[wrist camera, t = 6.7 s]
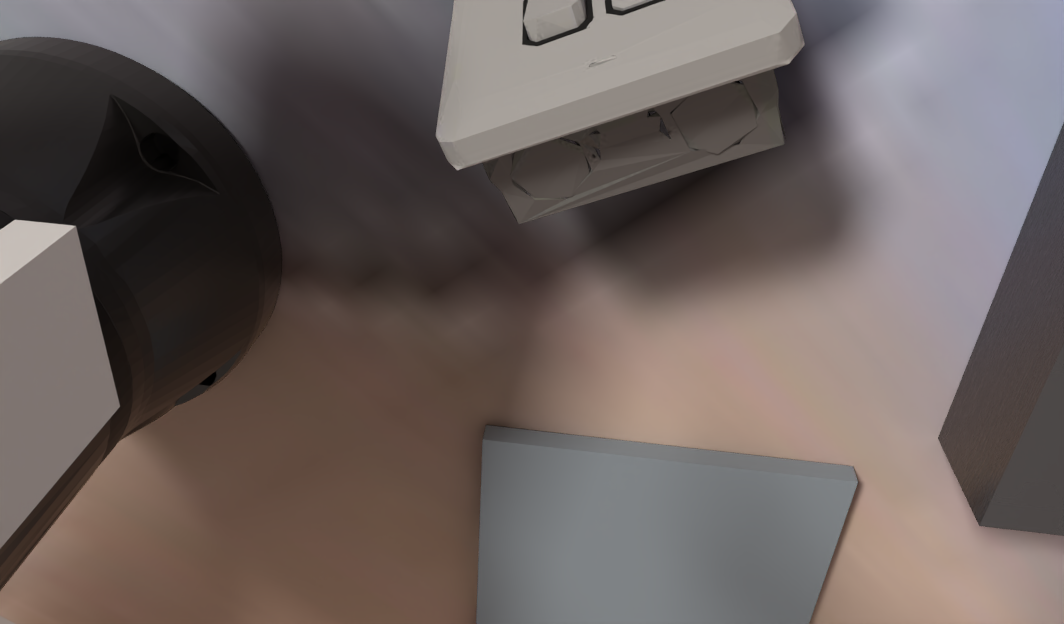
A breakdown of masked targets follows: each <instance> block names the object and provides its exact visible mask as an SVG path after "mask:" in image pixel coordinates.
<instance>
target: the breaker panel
mask: <svg viewBox="0 0 1064 624" xmlns="http://www.w3.org/2000/svg"><path fill="white" fill-rule="evenodd" d="M938 439H939V441H940V443H941V446H942V448H943V450H944V452H945V454H946V456H947V458H948V460H949V462H950V465H951V467H952V469H953V471H954V473H955V475H956V477H957V479H958V482H959V484H960V486H961V488H962V490H963V492H964V494H965V496H966V498H967V501H968V503H969V505H970V507H971V509H972V511H973V513H974V515H975V518H976V520H977V522H978V524H979V526H985V527H994V528H1002V529H1011V530H1020V531H1028V532H1037V533H1046V534H1054V535H1063V536H1064V124H1063V126H1062V129H1061V131H1060V134H1059V136H1058V139H1057V141H1056V144H1055V146H1054V149H1053V151H1052V154H1051V156H1050V159H1049V161H1048V164H1047V166H1046V169H1045V171H1044V174H1043V176H1042V179H1041V181H1040V184H1039V186H1038V189H1037V192H1036V194H1035V197H1034V199H1033V202H1032V204H1031V207H1030V209H1029V212H1028V214H1027V217H1026V219H1025V222H1024V224H1023V227H1022V229H1021V232H1020V234H1019V237H1018V239H1017V242H1016V244H1015V247H1014V249H1013V252H1012V254H1011V257H1010V259H1009V262H1008V264H1007V267H1006V269H1005V272H1004V274H1003V277H1002V279H1001V282H1000V284H999V287H998V289H997V292H996V294H995V297H994V299H993V302H992V304H991V307H990V309H989V312H988V314H987V317H986V320H985V322H984V325H983V327H982V330H981V332H980V335H979V337H978V340H977V342H976V345H975V347H974V350H973V352H972V355H971V357H970V360H969V362H968V365H967V367H966V370H965V372H964V375H963V377H962V380H961V382H960V385H959V387H958V390H957V392H956V395H955V397H954V400H953V402H952V405H951V407H950V410H949V412H948V415H947V417H946V420H945V422H944V425H943V427H942V430H941V432H940V435H939V437H938Z"/></svg>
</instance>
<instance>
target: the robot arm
mask: <svg viewBox="0 0 1064 624" xmlns="http://www.w3.org/2000/svg"><path fill="white" fill-rule="evenodd" d="M281 272H282V257H281V245H280V238H279V233H278V228H277V224H276V220H275V217H274V214H273V210H272V207H271V205H270V202H269V200H268V197H267V194H266V192H265V190H264V188H263V186H262V184H261V182H260V180H259V178H258V176H257V174H256V173H255V171H254V169H253V167H252V166H251V164H250V163H249V161H248V159H247V158H246V156H245V155H244V153H243V152H242V151H241V149H240V148H239V146H238V145H237V144H236V142H235V141H234V140H233V139H232V137H231V136H230V135H229V134H228V133H227V131H226V130H225V129H224V128H223V127H222V126H221V125H220V124H219V123H218V121H217V120H216V119H215V118H214V117H213V116H212V115H211V114H210V113H209V112H208V111H206V110H205V109H204V108H203V107H202V106H201V105H200V104H199V103H198V102H197V101H195V100H194V99H193V98H192V97H191V96H189V95H188V94H187V93H186V92H184V91H183V90H182V89H180V88H179V87H178V86H176V85H175V84H173V83H172V82H170V81H169V80H167V79H166V78H164V77H163V76H161V75H160V74H158V73H156V72H155V71H153V70H151V69H149V68H148V67H146V66H144V65H142V64H140V63H138V62H136V61H134V60H132V59H130V58H127V57H125V56H123V55H120V54H118V53H116V52H113V51H110V50H107V49H104V48H101V47H98V46H94V45H91V44H87V43H83V42H78V41H73V40H68V39H60V38H51V37H23V38H15V39H8V40H3V41H0V591H1V589H2V588H3V587H4V586H5V584H6V583H7V582H8V581H9V579H10V578H11V577H12V575H13V574H14V573H15V572H16V570H17V569H18V568H19V567H20V565H21V564H22V563H23V562H24V560H25V559H26V558H27V557H28V555H29V554H30V553H31V552H32V550H33V549H34V548H35V546H36V545H37V544H38V543H39V541H40V540H41V539H42V538H43V536H44V535H45V534H46V533H47V531H48V530H49V529H50V528H51V526H52V525H53V524H54V523H55V521H56V520H57V519H58V517H59V516H60V515H61V514H62V512H63V511H64V510H65V509H66V507H67V506H68V505H69V504H70V502H71V501H72V500H73V499H74V497H75V496H76V495H77V493H78V492H79V491H80V490H81V488H82V487H83V486H84V485H85V483H86V482H87V481H88V480H89V478H90V477H91V476H92V475H93V473H94V472H95V470H96V469H97V468H98V466H99V465H100V464H101V463H102V462H103V460H104V459H105V458H106V457H107V455H108V454H109V453H110V452H111V451H112V449H113V448H114V447H115V446H116V444H117V443H118V442H119V441H120V440H121V439H123V438H125V437H127V436H128V435H130V434H132V433H134V432H136V431H137V430H139V429H141V428H143V427H144V426H146V425H148V424H150V423H151V422H153V421H155V420H156V419H158V418H159V417H161V416H163V415H164V414H165V413H167V412H168V411H169V410H171V409H172V408H173V407H174V406H176V405H179V404H182V403H184V402H187V401H189V400H191V399H193V398H195V397H197V396H198V395H200V394H202V393H204V392H205V391H207V390H209V389H210V388H212V387H213V386H215V385H216V384H217V383H219V382H220V381H221V380H222V379H223V378H225V377H226V376H227V375H228V374H229V373H230V372H231V371H232V370H233V369H234V368H235V367H236V366H237V365H238V364H239V362H240V361H241V360H242V359H243V357H244V356H245V355H246V353H247V352H248V350H249V349H250V348H251V346H252V345H253V343H254V342H255V341H256V339H257V338H258V336H259V335H260V333H261V332H262V330H263V329H264V327H265V326H266V324H267V322H268V320H269V318H270V316H271V314H272V312H273V309H274V307H275V304H276V300H277V297H278V293H279V288H280V282H281Z"/></svg>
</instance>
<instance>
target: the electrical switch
mask: <svg viewBox="0 0 1064 624" xmlns="http://www.w3.org/2000/svg"><path fill="white" fill-rule="evenodd" d="M804 45H805V44H804V39H803V35H802V32H801V28H800V24H799V20H798V17H797V13H796V11H795V8H794V6H793V4H792V2H791V0H454V7H453V15H452V22H451V29H450V36H449V43H448V51H447V58H446V65H445V72H444V79H443V86H442V93H441V100H440V107H439V114H438V121H437V129H436V137H437V139H438V141H439V144H440V146H441V148H442V150H443V152H444V154H445V156H446V158H447V160H448V162H449V163H450V164H451V165H452V166H453V167H454V168H455V169H456V170H461V169H464V168H467V167H470V166H473V165H476V164H479V163H482V164H483V166H484V168H485V170H486V173H487V175H488V177H489V180H490V181H491V182H492V183H493V184H494V185H495V186H496V187H497V188H498V189H499V190H500V191H501V192H502V194H503V196H504V197H505V199H506V201H507V203H508V205H509V207H510V209H511V211H512V213H513V215H514V217H515V219H516V220H517V221H518V223H519V224H522V223H525V222H528V221H531V220H535V219H538V218H541V217H545V216H548V215H551V214H555V213H558V212H561V211H565V210H568V209H571V208H575V207H578V206H581V205H585V204H588V203H591V202H595V201H598V200H601V199H605V198H608V197H611V196H615V195H618V194H621V193H625V192H628V191H631V190H635V189H638V188H641V187H644V186H648V185H651V184H654V183H658V182H661V181H664V180H668V179H671V178H674V177H678V176H681V175H684V174H688V173H691V172H694V171H698V170H701V169H704V168H708V167H711V166H714V165H718V164H721V163H724V162H728V161H731V160H734V159H738V158H741V157H744V156H747V155H751V154H754V153H757V152H761V151H764V150H767V149H771V148H774V147H777V146H781V145H784V139H783V133H784V128H783V124H782V120H781V115H780V111H779V107H778V100H779V91H778V86H777V81H776V77H775V73H774V68H778V67H781V66H784V65H787V64H789V63H790V62H791V61H792V60H793V58H794V57H795V56H796V55H797V54H798V53H799V51H800V50H801V49H802V48H803V47H804ZM739 81H742V82H743V84H740V82H739ZM652 111H656V112H655V113H654V114H652V115H650V113H649V117H647V115H648V112H652ZM661 119H662V120H663V122H664V125H665V127H666V129H667V131H668V134H669V136H670V138H668V137H667V136H666V135H664V134H663V133H662V132H661V131H659V130H660V120H661ZM597 130H598V131H597ZM595 131H596V132H595ZM782 131H783V133H782ZM593 132H595V133H593ZM591 133H593V134H591ZM589 134H590V135H589ZM784 136H785V133H784ZM559 138H564V139H568V140H572V141H575V143H576V144H577V145H576V144H573V143H570V142H567V141H565V140H562V139H559ZM785 139H786V137H785ZM740 140H741V142H740V144H738V145H736V144H737V143H738V142H739V141H740ZM594 147H595V148H598V149H600V156H601V159H600V158H599V156H598V154H597V152H596V150H595V148H594ZM589 165H590V167H591V170H589ZM523 189H524V190H525V191H526V192H528V193H529V194H530V195H528V194H527V193H526V192H525V191H524V190H523ZM564 197H568V198H567V199H564Z"/></svg>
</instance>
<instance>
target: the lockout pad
mask: <svg viewBox="0 0 1064 624" xmlns="http://www.w3.org/2000/svg"><path fill="white" fill-rule="evenodd" d="M857 484H858V481H857V477H856V474H855V471H854V468H853V466H845V465H836V464H827V463H819V462H810V461H801V460H792V459H783V458H774V457H765V456H756V455H747V454H739V453H730V452H721V451H712V450H703V449H694V448H685V447H676V446H667V445H659V444H650V443H641V442H632V441H623V440H614V439H605V438H596V437H588V436H579V435H570V434H561V433H552V432H543V431H534V430H525V429H516V428H508V427H499V426H490V425H486V428H485V432H484V436H483V444H482V472H481V501H480V529H479V558H478V586H477V615H476V624H809V622H810V619H811V617H812V614H813V611H814V608H815V605H816V602H817V599H818V596H819V593H820V591H821V588H822V585H823V582H824V579H825V576H826V573H827V570H828V568H829V565H830V562H831V559H832V556H833V553H834V550H835V547H836V544H837V542H838V539H839V536H840V533H841V530H842V527H843V524H844V521H845V519H846V516H847V513H848V510H849V507H850V504H851V501H852V498H853V495H854V493H855V490H856V487H857Z"/></svg>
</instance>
